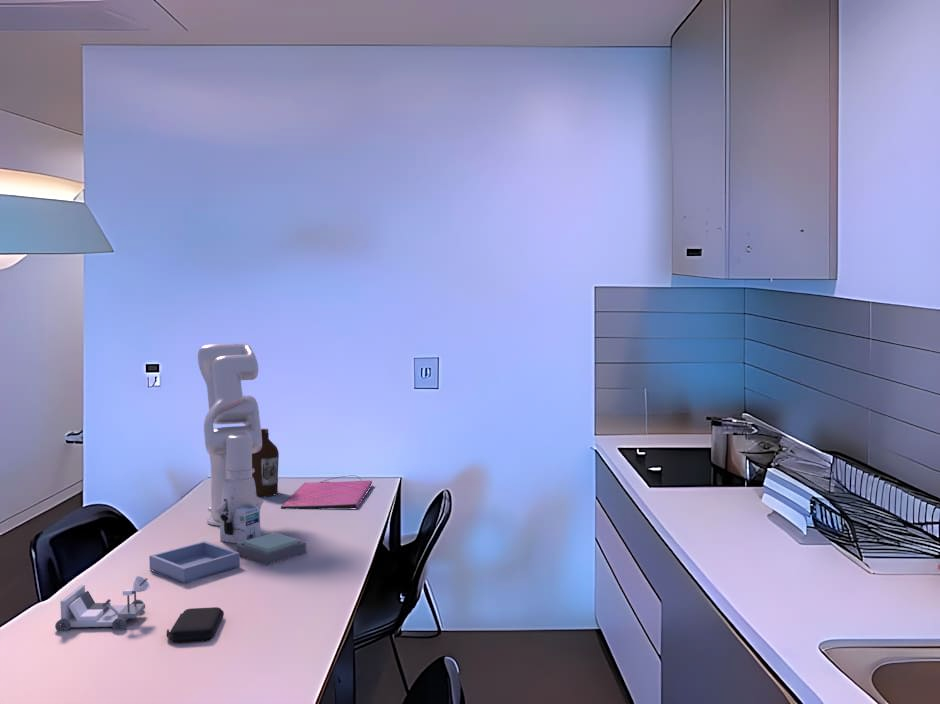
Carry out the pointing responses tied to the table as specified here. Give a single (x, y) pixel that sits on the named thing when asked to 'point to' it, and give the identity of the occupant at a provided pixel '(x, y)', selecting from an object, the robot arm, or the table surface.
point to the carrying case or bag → (196, 625)
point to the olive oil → (266, 467)
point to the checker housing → (271, 553)
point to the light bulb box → (242, 525)
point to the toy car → (99, 609)
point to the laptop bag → (328, 495)
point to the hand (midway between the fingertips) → (240, 530)
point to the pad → (270, 542)
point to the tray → (194, 561)
